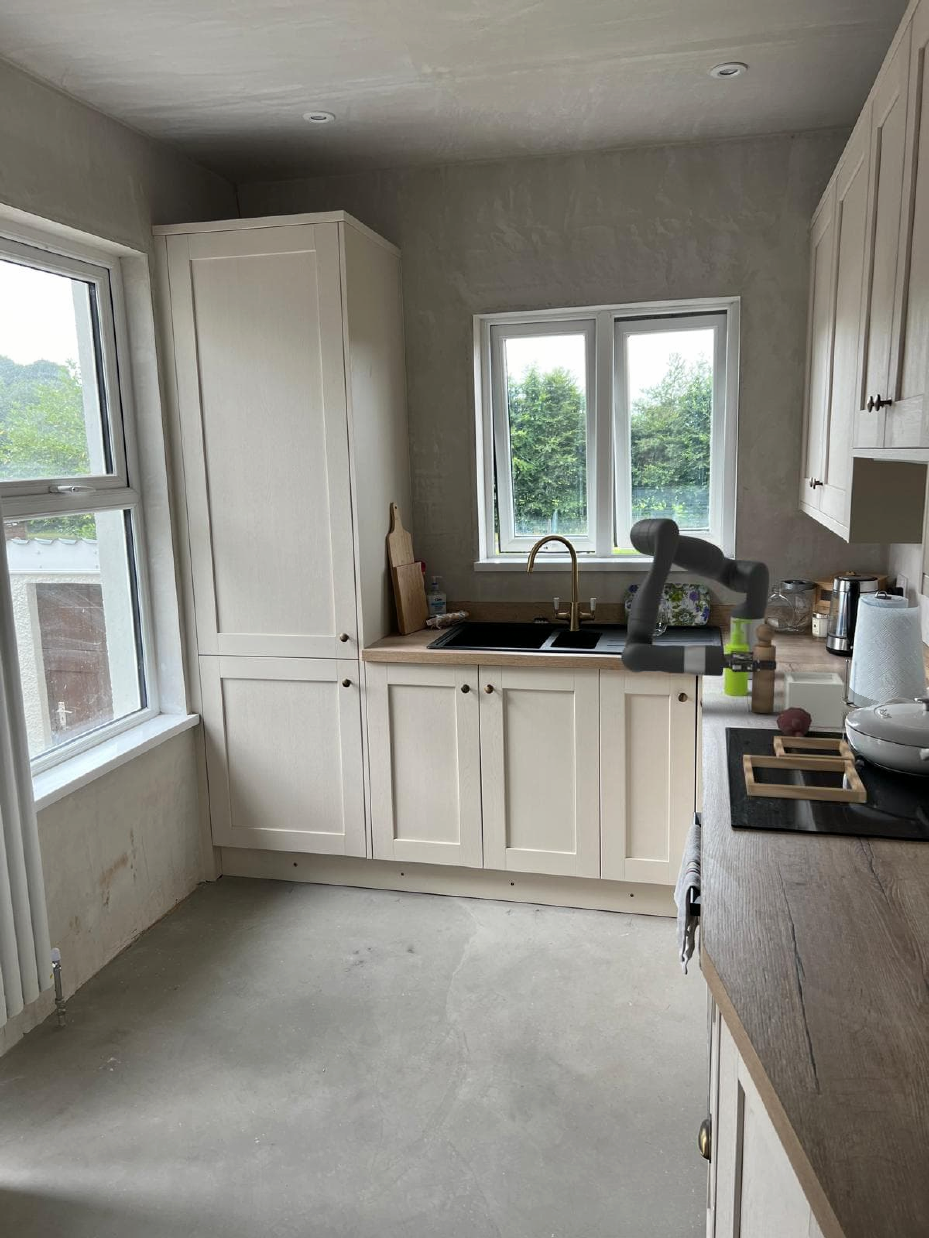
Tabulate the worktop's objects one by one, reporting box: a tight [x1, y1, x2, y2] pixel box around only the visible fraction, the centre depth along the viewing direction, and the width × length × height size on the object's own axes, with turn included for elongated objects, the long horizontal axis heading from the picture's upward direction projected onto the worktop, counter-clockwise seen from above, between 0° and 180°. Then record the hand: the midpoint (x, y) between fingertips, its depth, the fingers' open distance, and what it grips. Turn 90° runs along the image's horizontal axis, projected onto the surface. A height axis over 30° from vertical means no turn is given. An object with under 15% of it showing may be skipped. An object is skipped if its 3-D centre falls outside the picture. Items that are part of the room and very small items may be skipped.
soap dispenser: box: [723, 619, 754, 697], centre depth 242 cm, size 6×7×20 cm
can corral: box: [773, 735, 856, 768], centre depth 191 cm, size 13×14×2 cm
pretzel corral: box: [742, 754, 867, 804], centre depth 175 cm, size 18×20×2 cm
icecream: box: [775, 707, 812, 737], centre depth 204 cm, size 7×8×15 cm
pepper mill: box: [750, 623, 777, 714], centre depth 222 cm, size 5×5×22 cm
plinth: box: [782, 670, 845, 729], centre depth 217 cm, size 12×12×10 cm
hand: (775, 662), depth 222 cm, fingers closed on pepper mill, 5 cm apart
